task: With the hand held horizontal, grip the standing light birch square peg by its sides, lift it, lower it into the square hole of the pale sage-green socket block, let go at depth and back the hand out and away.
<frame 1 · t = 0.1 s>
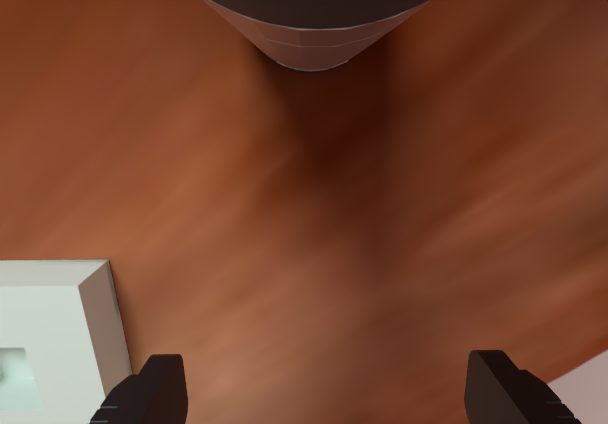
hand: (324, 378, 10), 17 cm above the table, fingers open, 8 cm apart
socket block: (33, 345, 31), on the table
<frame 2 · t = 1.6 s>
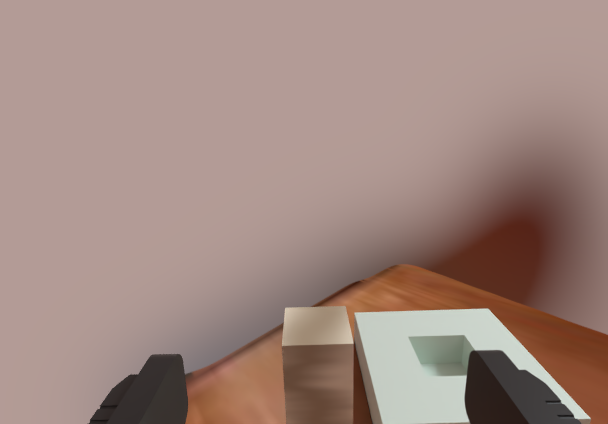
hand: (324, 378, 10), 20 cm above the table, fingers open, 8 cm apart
socket block: (443, 387, 37), on the table
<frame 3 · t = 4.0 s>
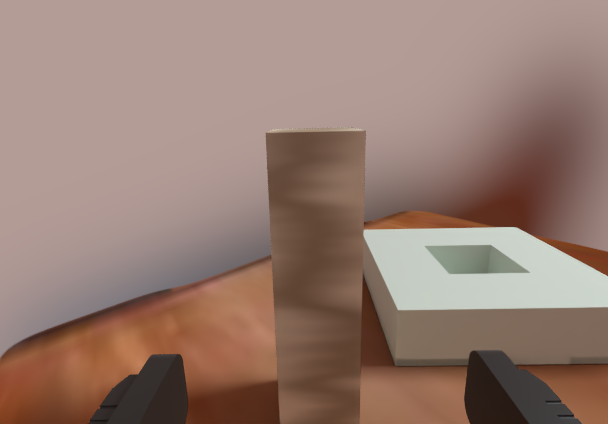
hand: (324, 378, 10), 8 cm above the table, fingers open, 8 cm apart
peg: (318, 403, 20), on the table
socket block: (467, 301, 31), on the table
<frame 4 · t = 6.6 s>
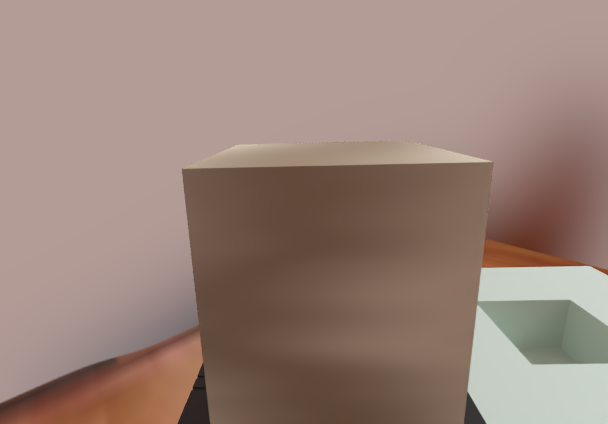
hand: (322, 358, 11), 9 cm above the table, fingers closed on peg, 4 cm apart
socket block: (542, 388, 21), on the table
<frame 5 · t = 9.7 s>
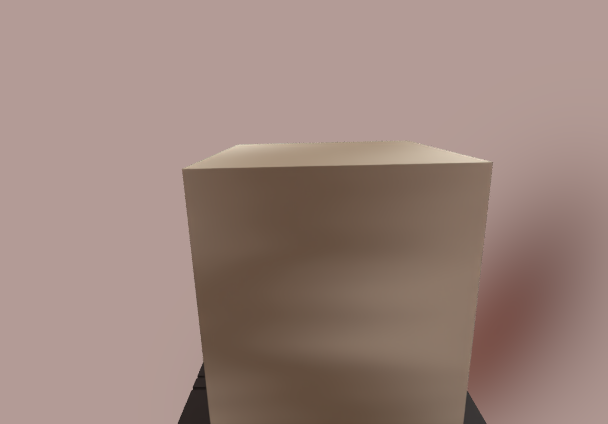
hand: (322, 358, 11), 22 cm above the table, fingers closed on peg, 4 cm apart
when the fingers open (10 cm above the table, at t = 13.3 s): peg stays where it is, resting on socket block.
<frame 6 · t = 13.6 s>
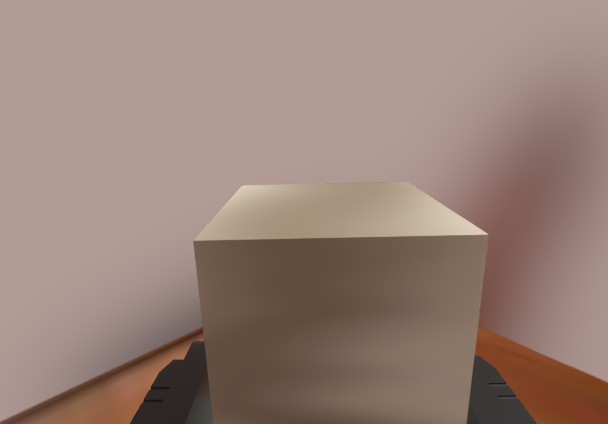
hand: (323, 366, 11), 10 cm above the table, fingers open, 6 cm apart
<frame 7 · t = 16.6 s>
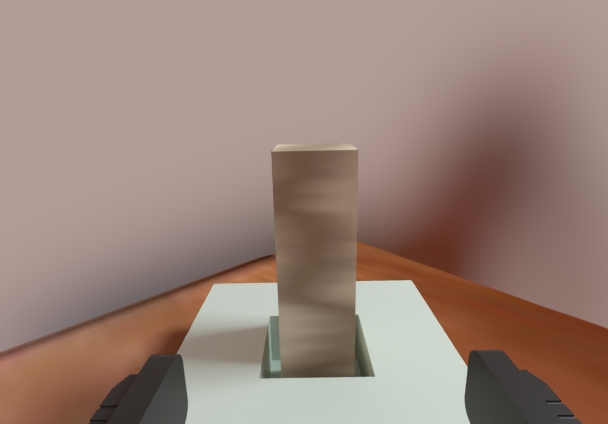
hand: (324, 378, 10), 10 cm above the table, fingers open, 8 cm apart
peg: (317, 390, 22), resting on socket block
socket block: (316, 398, 22), on the table
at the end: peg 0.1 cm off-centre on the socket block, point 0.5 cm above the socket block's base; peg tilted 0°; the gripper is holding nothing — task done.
